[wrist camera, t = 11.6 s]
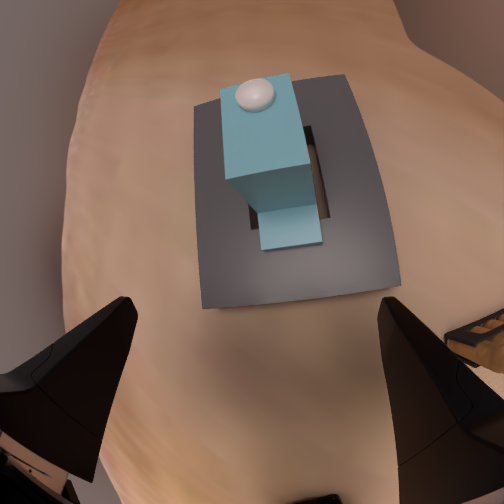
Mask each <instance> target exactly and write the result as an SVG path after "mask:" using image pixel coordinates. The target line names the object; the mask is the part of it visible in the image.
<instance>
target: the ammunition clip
mask: <svg viewBox="0 0 504 504" xmlns="http://www.w3.org/2000/svg"><path fill="white" fill-rule="evenodd" d="M444 338H445V344H446V345H447V346H448V347H449V348H450V349H451V350H452V351H453V352H454V353H455V354H456V355H457V356H458V358H459V359H461V360H462V361H463V362H464V363H466V364H468V365H470V366H472V367H474V368H477V367H479V366H483V367H485V368H487V369H489V370H491V371H493V372H496V373H504V309H501V310H499V311H497V312H495V313H493V314H491V315H489V316H486V317H484V318H482V319H480V320H477V321H475V322H473V323H470V324H468V325H465V326H463V327H460V328H458V329H455V330H453V331H450V332H447V333H445V335H444Z"/></svg>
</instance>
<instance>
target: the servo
mask: <svg viewBox="0 0 504 504" xmlns="http://www.w3.org/2000/svg"><path fill="white" fill-rule="evenodd" d="M220 95H221V115H222V133H223V149H224V165H225V180H226V181H227V182H228V183H229V184H230V185H231V186H232V187H233V188H234V189H235V190H236V191H237V192H238V193H239V194H240V195H241V196H242V197H243V198H244V200H245V201H246V202H247V203H248V204H249V205H250V206H251V207H252V208H253V209H254V210H255V211H256V212H257V213H258V223H259V232H260V242H261V250H262V251H264V252H265V251H272V250H280V249H287V248H294V247H301V246H308V245H315V244H323V242H322V235H321V228H320V222H319V215H318V209H317V203H316V196H315V189H314V182H313V176H312V169H311V163H310V158H309V153H308V149H307V144H306V139H305V135H304V131H303V126H302V122H301V118H300V114H299V109H298V105H297V101H296V98H295V94H294V90H293V86H292V82H291V79H290V75H289V73H286V74H281V75H276V76H271V77H266V78H262V79H251V80H248V81H246V82H244V83H241V84H237V85H233V86H230V87H226V88H222V89H220Z"/></svg>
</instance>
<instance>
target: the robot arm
mask: <svg viewBox="0 0 504 504" xmlns="http://www.w3.org/2000/svg"><path fill="white" fill-rule="evenodd" d="M137 320H138V313H137V310H136V308H135V306H134V304H133V302H132V300H131V298H130V297H123V296H121V297H119V298H117V299H116V300H114V301H113V302H111V303H110V304H108V305H107V306H105V307H104V308H102V309H101V310H99V311H98V312H96V313H95V314H94V315H92V316H91V317H89V318H88V319H86V320H85V321H83V322H82V323H81V324H79V325H78V326H76V327H75V328H73V329H72V330H71V331H69V332H68V333H66V334H65V335H64V336H62V337H61V338H59V339H58V340H57V341H55V342H54V343H53V344H51V345H50V346H48V347H47V348H45V349H44V350H43V351H41V352H40V353H38V354H37V355H36V356H34V357H32V358H31V359H29V360H28V361H26V362H24V363H23V364H21V365H20V366H18V367H16V368H15V369H14V370H12V371H10V372H8V373H6V374H0V504H80V502H79V500H78V497H77V495H76V492H75V490H74V487H73V485H72V482H71V480H69V479H67V478H68V475H69V473H70V474H73V475H75V476H77V477H79V478H81V479H83V480H85V481H88V482H90V483H92V482H93V479H94V474H95V469H96V465H97V460H98V456H99V452H100V448H101V444H102V439H103V435H104V432H105V428H106V424H107V421H108V417H109V414H110V410H111V407H112V403H113V400H114V397H115V393H116V390H117V387H118V384H119V381H120V378H121V375H122V372H123V369H124V366H125V363H126V360H127V357H128V354H129V351H130V347H131V343H132V339H133V335H134V331H135V327H136V323H137ZM377 322H378V330H379V338H380V347H381V356H382V363H383V368H384V373H385V378H386V383H387V389H388V394H389V400H390V406H391V412H392V419H393V426H394V434H395V442H396V451H397V462H398V477H399V499H400V504H504V400H503V399H502V398H501V397H500V396H499V395H498V394H497V393H496V392H495V391H493V390H492V389H491V388H490V387H489V386H488V385H487V384H485V383H484V382H483V381H482V380H481V379H480V378H479V377H478V376H477V375H476V374H475V373H474V372H473V371H472V370H471V369H470V368H468V367H467V366H466V365H465V363H464V362H463V361H462V360H461V359H459V358H458V356H457V355H456V354H455V353H454V352H453V351H452V350H451V349H450V348H449V347H448V346H447V345H446V344H445V343H444V342H442V341H441V340H440V339H439V338H438V337H437V336H436V335H435V334H434V333H433V332H432V331H431V330H430V329H429V328H428V327H427V326H426V325H425V324H424V323H423V322H422V321H421V320H419V319H418V318H417V317H416V316H415V315H414V314H413V313H412V312H411V311H410V310H409V309H408V308H406V307H405V306H404V305H403V304H402V303H401V302H400V301H399V300H398V299H396V298H395V297H384V298H383V299H382V301H381V304H380V308H379V312H378V316H377ZM333 498H335V499H333ZM296 504H343V503H342V502H341V500H340V498H339V496H338V495H329V496H326V497H322V498H318V499H314V500H310V501H306V502H301V503H296Z"/></svg>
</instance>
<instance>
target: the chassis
mask: <svg viewBox="0 0 504 504" xmlns="http://www.w3.org/2000/svg"><path fill="white" fill-rule="evenodd" d="M292 86H293V90H294V94H295V98H296V101H297V105H298V109H299V114H300V118H301V122H302V126H303V131H304V135H305V139H306V144H307V145H309V144H314V148H315V152H316V157H317V161H318V166H319V171H320V175H321V180H322V185H323V190H324V195H325V201H326V206H327V212H328V218H325V219H319V222H320V228H321V235H322V242H323V244H315V245H308V246H301V247H294V248H287V249H280V250H272V251H265V252H264V251H262V250H261V242H260V232H259V223H258V213H257V212H256V211H255V210H254V209H253V208H252V207H251V206H250V205H249V204H248V203H247V202H246V201H245V200H244V198H243V197H242V196H241V195H240V194H239V193H238V192H237V191H236V190H235V189H234V188H233V187H232V186H231V185H230V184H229V183H228V182H227V181H226V180H225V165H224V149H223V133H222V115H221V98H220V99H216V100H213V101H210V102H207V103H203V104H200V105H197V106H194V180H195V209H196V230H197V247H198V262H199V275H200V287H201V299H202V309H213V308H226V307H239V306H250V305H261V304H271V303H281V302H290V301H299V300H307V299H315V298H323V297H331V296H338V295H345V294H352V293H359V292H365V291H372V290H378V289H384V288H390V287H396V286H401V279H400V271H399V264H398V257H397V251H396V245H395V239H394V233H393V228H392V223H391V218H390V214H389V209H388V205H387V200H386V196H385V192H384V188H383V184H382V180H381V176H380V173H379V169H378V166H377V162H376V159H375V155H374V152H373V149H372V146H371V143H370V140H369V137H368V134H367V131H366V128H365V125H364V122H363V119H362V116H361V114H360V111H359V108H358V106H357V103H356V101H355V98H354V96H353V93H352V91H351V88H350V86H349V84H348V81H347V79H346V77H345V75H334V76H325V77H318V78H310V79H304V80H298V81H292Z"/></svg>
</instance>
